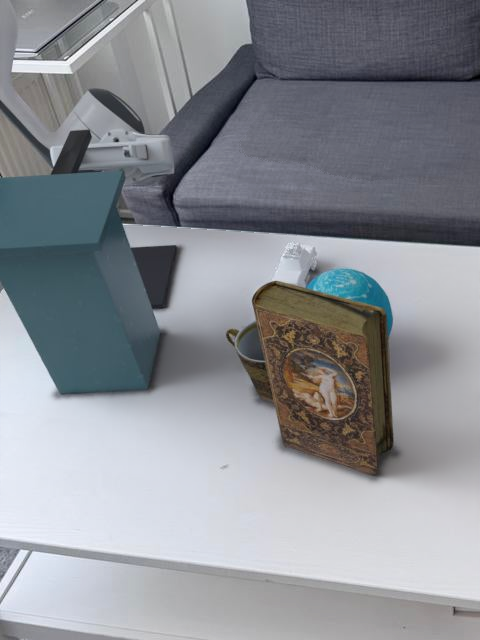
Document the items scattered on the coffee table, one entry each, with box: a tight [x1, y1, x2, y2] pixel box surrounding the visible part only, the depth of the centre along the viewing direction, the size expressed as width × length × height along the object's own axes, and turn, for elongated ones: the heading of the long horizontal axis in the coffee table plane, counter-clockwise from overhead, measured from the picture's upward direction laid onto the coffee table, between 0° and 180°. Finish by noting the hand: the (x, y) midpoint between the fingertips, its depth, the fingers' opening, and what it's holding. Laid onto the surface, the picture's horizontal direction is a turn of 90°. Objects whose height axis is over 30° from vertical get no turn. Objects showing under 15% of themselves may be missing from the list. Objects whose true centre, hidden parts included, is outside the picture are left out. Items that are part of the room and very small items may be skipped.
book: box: [251, 280, 395, 476], centre depth 99 cm, size 16×6×25 cm, turn 65°
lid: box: [0, 130, 126, 257], centre depth 105 cm, size 31×18×1 cm, turn 2°
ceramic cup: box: [225, 320, 274, 405], centre depth 113 cm, size 13×10×10 cm
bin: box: [0, 206, 161, 395], centre depth 112 cm, size 14×14×26 cm
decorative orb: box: [305, 267, 394, 341], centre depth 115 cm, size 15×15×15 cm
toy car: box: [270, 241, 318, 288], centre depth 131 cm, size 6×12×7 cm, turn 167°
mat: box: [131, 244, 178, 309], centre depth 136 cm, size 18×13×1 cm
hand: (99, 152), depth 122 cm, fingers open, 8 cm apart
